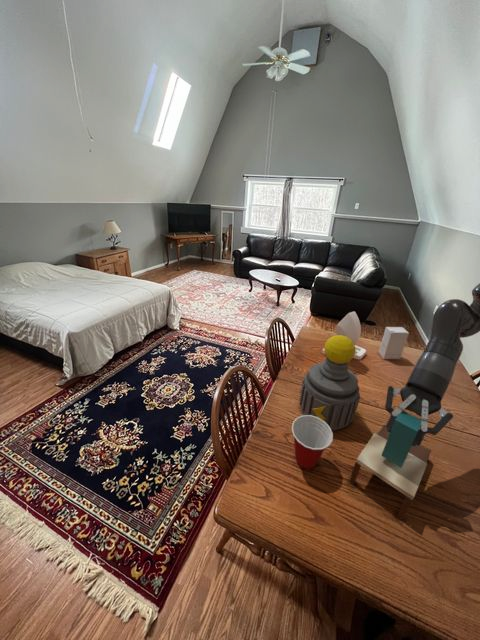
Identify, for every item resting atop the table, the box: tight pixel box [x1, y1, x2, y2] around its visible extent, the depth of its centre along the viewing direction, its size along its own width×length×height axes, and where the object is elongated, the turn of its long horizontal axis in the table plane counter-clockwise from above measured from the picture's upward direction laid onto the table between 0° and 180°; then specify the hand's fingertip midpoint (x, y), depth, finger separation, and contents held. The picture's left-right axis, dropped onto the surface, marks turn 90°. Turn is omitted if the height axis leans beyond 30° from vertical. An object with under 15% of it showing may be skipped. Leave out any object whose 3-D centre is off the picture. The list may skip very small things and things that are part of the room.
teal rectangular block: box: [381, 410, 421, 468], centre depth 64 cm, size 5×5×12 cm
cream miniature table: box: [349, 424, 432, 521], centre depth 73 cm, size 13×24×9 cm, turn 135°
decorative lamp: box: [299, 334, 361, 431], centre depth 88 cm, size 19×19×30 cm
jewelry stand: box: [321, 311, 367, 361], centre depth 124 cm, size 25×16×25 cm, turn 136°
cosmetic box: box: [378, 326, 410, 360], centre depth 127 cm, size 8×6×15 cm
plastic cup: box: [291, 414, 334, 470], centre depth 74 cm, size 11×11×12 cm
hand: (401, 438), depth 62 cm, fingers closed on teal rectangular block, 4 cm apart
